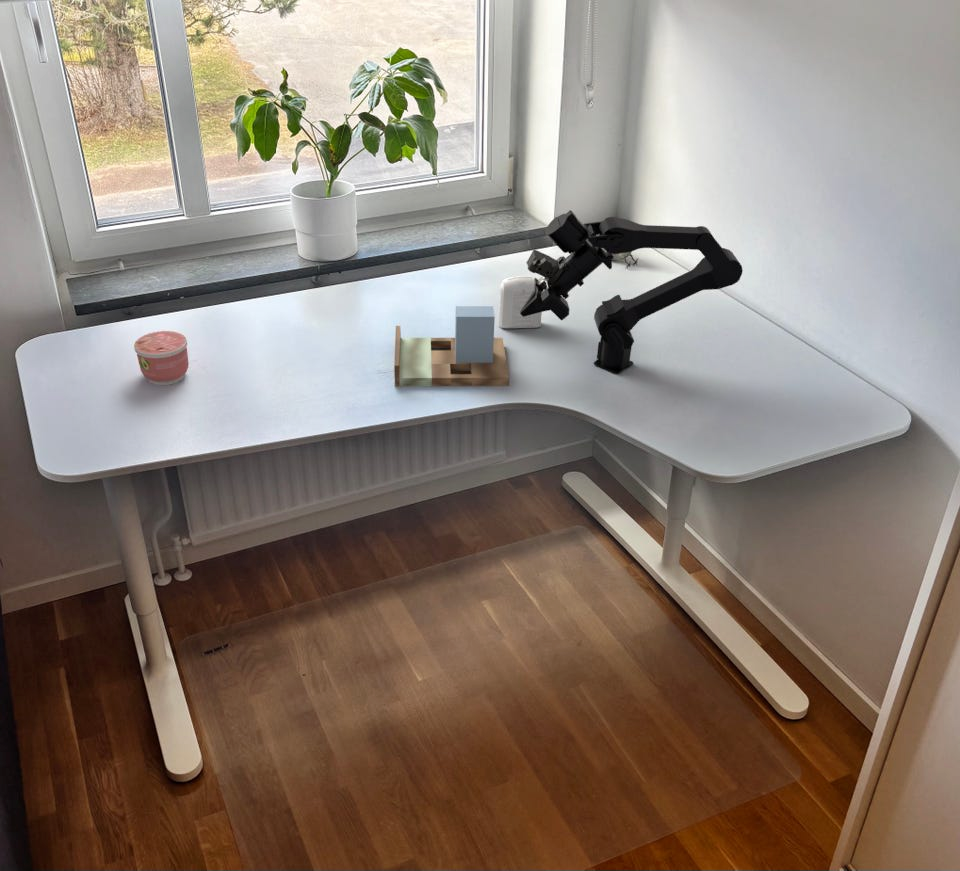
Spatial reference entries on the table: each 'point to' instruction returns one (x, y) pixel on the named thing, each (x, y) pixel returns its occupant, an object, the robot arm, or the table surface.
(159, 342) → the container
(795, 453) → the table surface
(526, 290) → the photo printer
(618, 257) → the decorative bird
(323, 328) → the table surface
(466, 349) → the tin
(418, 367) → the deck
